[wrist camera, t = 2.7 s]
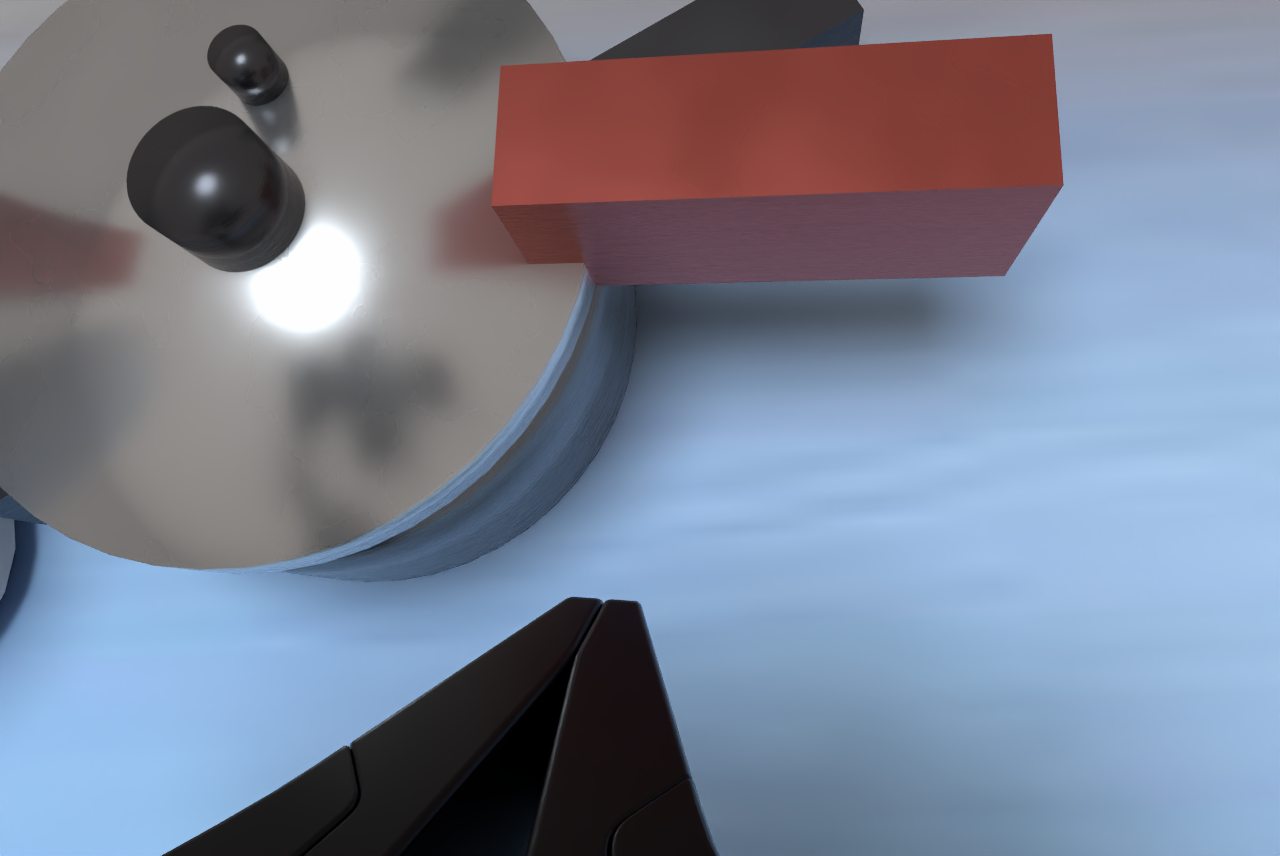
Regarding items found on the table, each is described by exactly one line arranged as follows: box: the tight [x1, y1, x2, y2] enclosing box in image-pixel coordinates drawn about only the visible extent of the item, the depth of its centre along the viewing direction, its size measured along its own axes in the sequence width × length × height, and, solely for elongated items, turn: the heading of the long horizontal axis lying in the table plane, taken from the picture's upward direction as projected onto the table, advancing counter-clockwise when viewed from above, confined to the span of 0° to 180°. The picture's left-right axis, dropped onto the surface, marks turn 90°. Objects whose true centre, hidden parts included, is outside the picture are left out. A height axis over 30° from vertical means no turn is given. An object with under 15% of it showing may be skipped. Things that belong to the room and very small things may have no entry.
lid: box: [0, 0, 1063, 574], centre depth 18 cm, size 14×25×4 cm, turn 89°
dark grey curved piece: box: [0, 0, 864, 582], centre depth 23 cm, size 14×24×6 cm, turn 119°
